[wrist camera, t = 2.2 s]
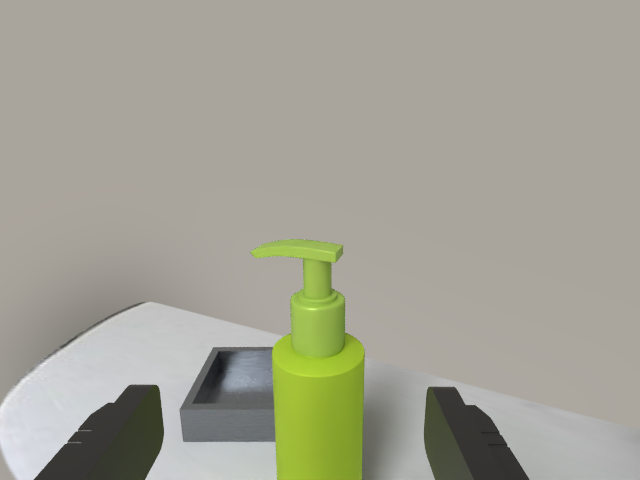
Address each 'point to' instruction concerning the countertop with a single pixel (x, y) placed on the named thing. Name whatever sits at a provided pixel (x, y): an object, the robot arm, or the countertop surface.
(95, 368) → the countertop surface
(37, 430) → the countertop surface
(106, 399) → the countertop surface
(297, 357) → the soap dispenser
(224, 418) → the metal tray
